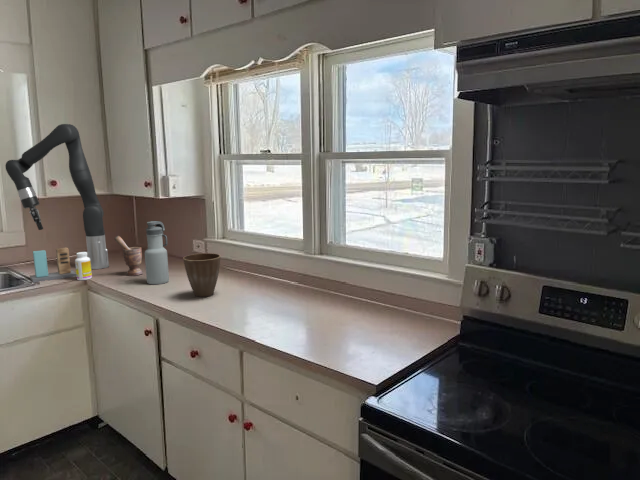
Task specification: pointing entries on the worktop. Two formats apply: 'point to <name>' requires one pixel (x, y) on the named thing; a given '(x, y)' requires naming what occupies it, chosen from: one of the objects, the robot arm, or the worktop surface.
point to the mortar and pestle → (131, 257)
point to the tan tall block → (63, 260)
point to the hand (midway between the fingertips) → (41, 229)
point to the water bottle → (156, 254)
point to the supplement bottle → (83, 266)
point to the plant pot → (202, 272)
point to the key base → (53, 276)
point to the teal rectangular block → (40, 263)
